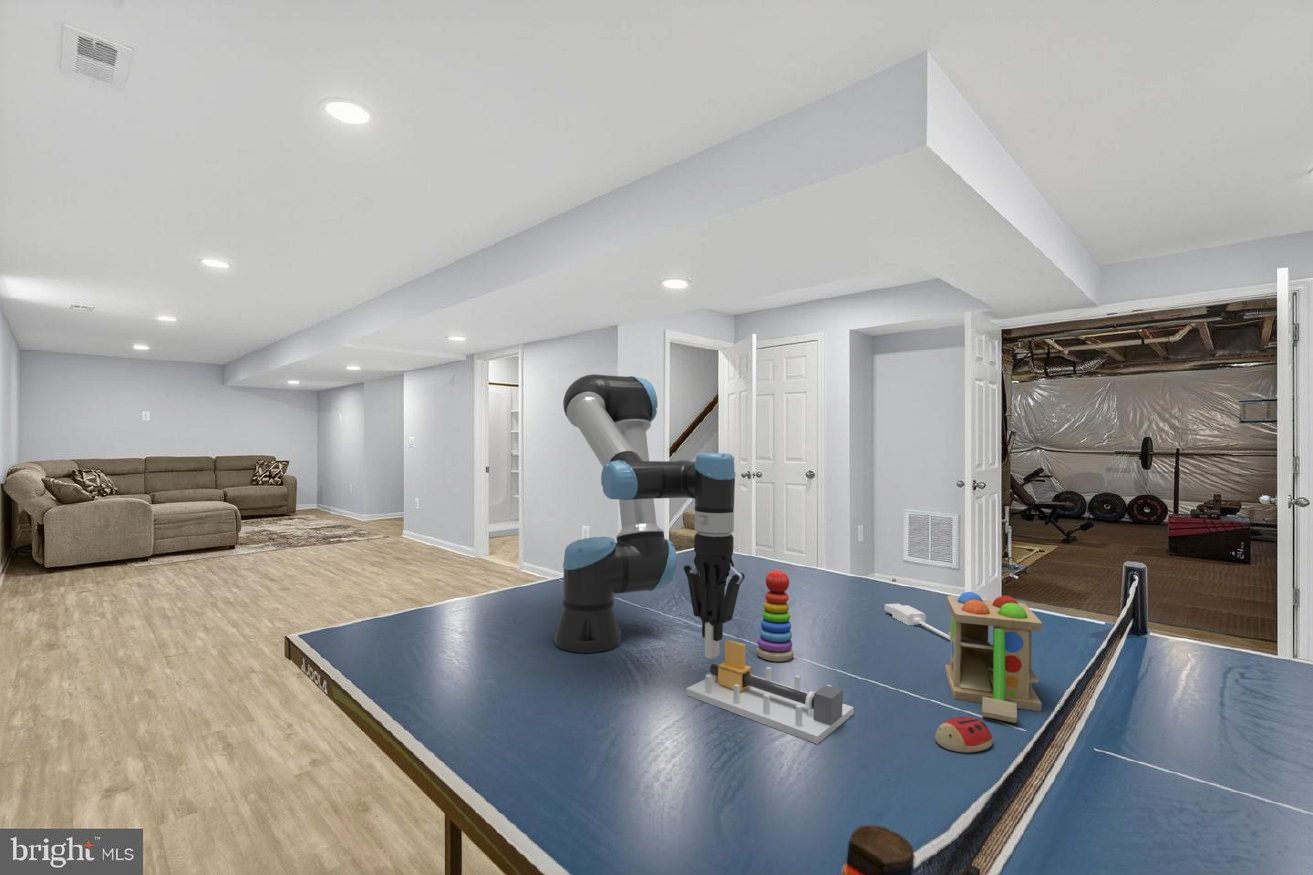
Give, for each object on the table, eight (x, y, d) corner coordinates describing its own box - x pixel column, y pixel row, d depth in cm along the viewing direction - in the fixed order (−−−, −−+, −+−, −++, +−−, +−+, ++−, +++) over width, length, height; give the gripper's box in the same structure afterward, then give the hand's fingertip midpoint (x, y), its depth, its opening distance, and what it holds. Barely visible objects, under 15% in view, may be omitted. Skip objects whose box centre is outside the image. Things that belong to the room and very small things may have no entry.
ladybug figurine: (924, 739, 97) (924, 717, 97) (968, 728, 101) (968, 707, 101) (959, 760, 91) (960, 736, 91) (1005, 748, 95) (1005, 725, 95)
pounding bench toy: (1055, 734, 99) (1058, 625, 99) (959, 719, 104) (961, 615, 104) (1023, 681, 121) (1025, 592, 121) (944, 671, 126) (946, 585, 126)
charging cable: (967, 660, 135) (968, 646, 135) (883, 613, 166) (883, 601, 166) (987, 659, 136) (988, 644, 136) (899, 612, 168) (899, 600, 167)
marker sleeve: (718, 683, 113) (718, 641, 113) (728, 678, 116) (729, 636, 116) (740, 691, 110) (741, 648, 110) (751, 685, 113) (752, 643, 113)
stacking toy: (793, 664, 127) (795, 575, 127) (755, 661, 129) (757, 573, 129) (793, 651, 135) (794, 568, 135) (756, 648, 137) (758, 565, 137)
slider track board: (685, 694, 111) (686, 664, 111) (728, 673, 122) (729, 645, 122) (817, 744, 94) (818, 708, 94) (853, 713, 105) (854, 681, 105)
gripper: (675, 531, 118) (673, 652, 118) (731, 539, 109) (729, 670, 109) (698, 527, 123) (696, 643, 123) (753, 535, 115) (751, 659, 115)
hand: (711, 655), depth 116 cm, fingers closed
